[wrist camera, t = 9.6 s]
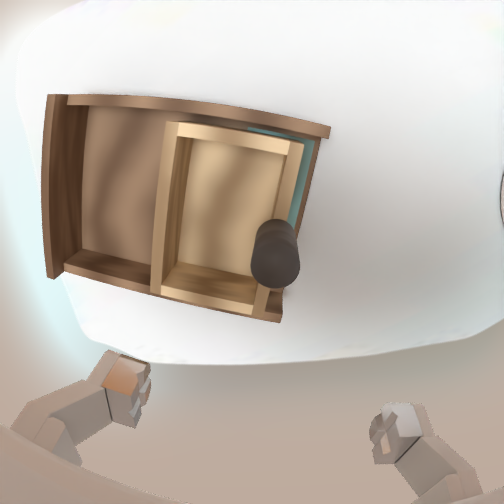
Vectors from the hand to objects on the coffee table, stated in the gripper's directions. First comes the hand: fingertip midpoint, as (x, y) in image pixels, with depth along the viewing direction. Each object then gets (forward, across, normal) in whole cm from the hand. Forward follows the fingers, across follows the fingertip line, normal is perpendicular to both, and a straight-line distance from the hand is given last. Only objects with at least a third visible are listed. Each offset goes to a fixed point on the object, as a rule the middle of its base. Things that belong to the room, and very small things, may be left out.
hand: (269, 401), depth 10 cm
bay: (+23, +10, 0) cm, 25 cm away
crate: (+21, +5, 0) cm, 22 cm away
